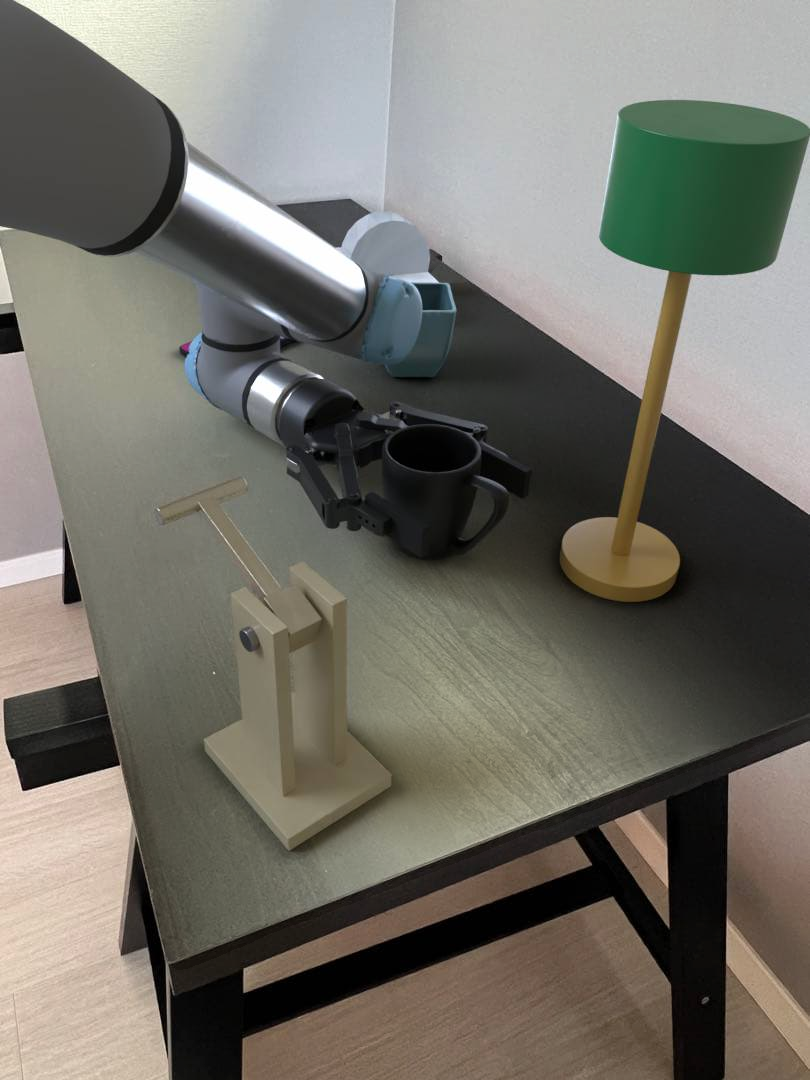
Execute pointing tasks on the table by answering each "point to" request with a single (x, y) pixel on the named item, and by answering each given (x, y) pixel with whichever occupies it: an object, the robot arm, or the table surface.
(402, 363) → the flower pot
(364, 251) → the tape dispenser
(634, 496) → the lamp
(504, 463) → the robot arm
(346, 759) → the beige wooden upright stand
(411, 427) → the mug
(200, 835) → the table surface
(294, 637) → the switch
